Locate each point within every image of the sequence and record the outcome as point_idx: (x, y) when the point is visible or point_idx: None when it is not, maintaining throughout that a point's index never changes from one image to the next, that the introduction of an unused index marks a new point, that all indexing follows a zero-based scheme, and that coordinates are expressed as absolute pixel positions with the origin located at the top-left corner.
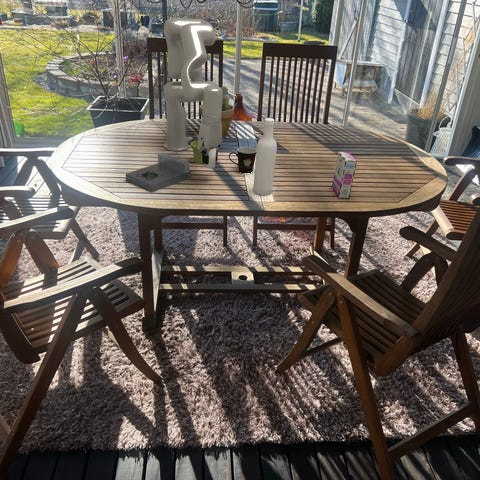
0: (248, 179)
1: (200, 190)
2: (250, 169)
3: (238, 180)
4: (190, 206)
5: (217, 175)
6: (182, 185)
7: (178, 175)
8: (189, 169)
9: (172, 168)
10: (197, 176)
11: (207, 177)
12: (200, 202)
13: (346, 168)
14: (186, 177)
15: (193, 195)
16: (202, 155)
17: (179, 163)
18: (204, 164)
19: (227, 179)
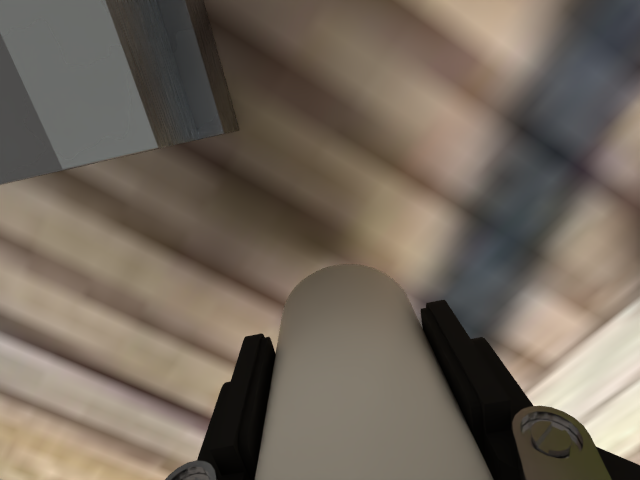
0: (582, 367)
1: (186, 354)
2: None
3: (515, 350)
4: (36, 475)
5: (463, 205)
6: (101, 229)
7: (49, 169)
8: (191, 140)
9: None
10: (305, 135)
11: (366, 197)
12: (109, 465)
13: None
14: (176, 144)
15: (108, 387)
16: (221, 421)
17: (24, 64)
18: (279, 331)
19: (467, 302)
